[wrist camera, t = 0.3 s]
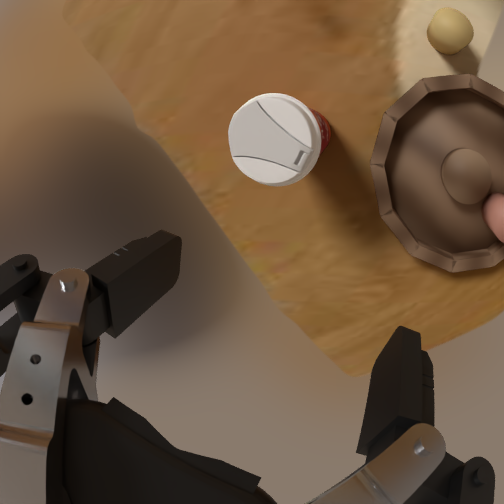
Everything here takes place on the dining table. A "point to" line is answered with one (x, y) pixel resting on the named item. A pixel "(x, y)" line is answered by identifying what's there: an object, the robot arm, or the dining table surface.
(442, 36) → the ochre bead
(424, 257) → the walnut tray
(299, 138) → the paper cup
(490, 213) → the pink rounded piece
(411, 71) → the dining table surface
